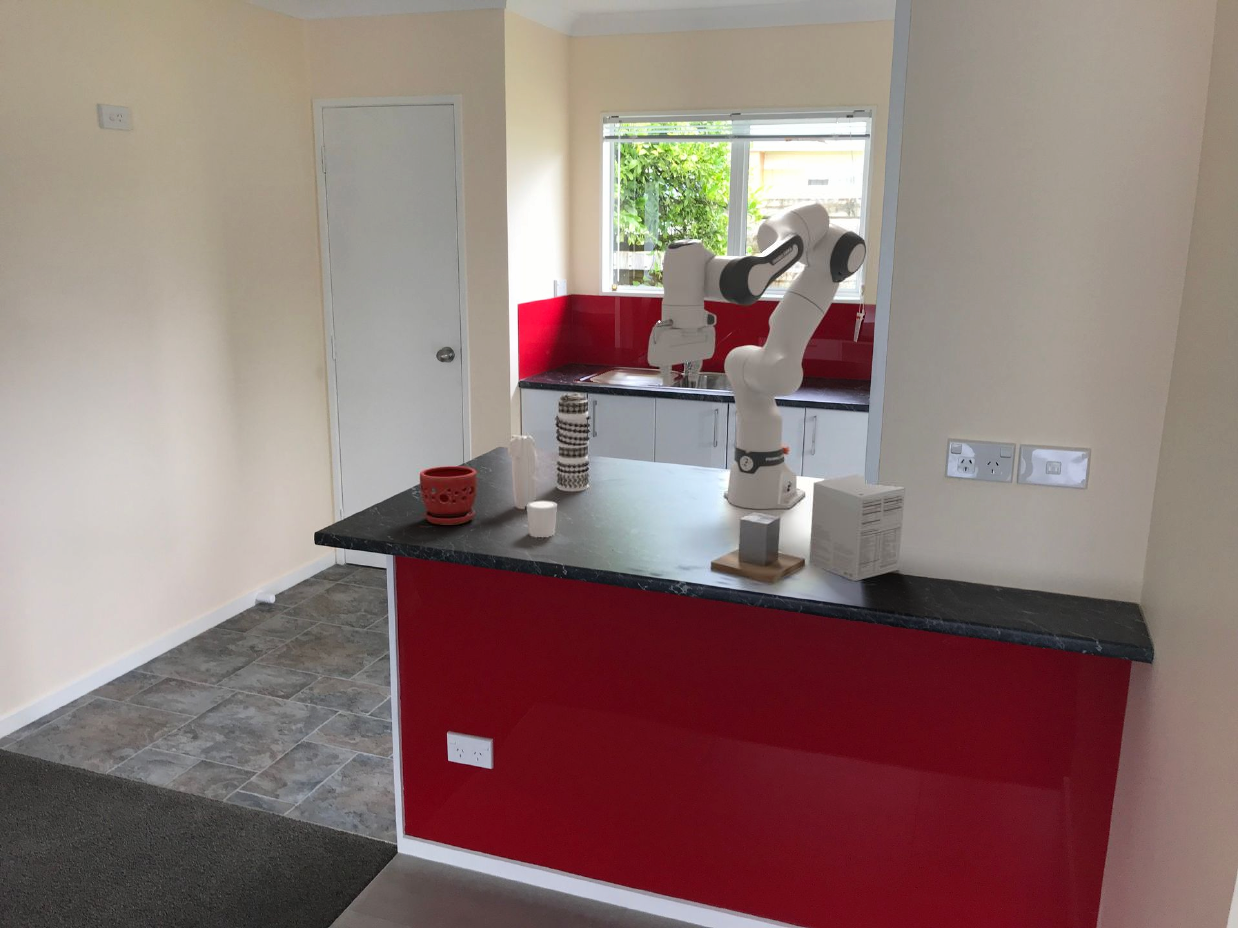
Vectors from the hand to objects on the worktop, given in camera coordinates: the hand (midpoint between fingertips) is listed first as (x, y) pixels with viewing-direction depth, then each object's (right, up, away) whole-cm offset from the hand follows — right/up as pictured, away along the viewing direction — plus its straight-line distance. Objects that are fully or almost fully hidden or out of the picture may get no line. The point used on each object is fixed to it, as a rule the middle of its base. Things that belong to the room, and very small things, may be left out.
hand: (681, 383), depth 208 cm
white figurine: (-37, -28, +32) cm, 57 cm away
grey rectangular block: (+15, -37, -9) cm, 41 cm away
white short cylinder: (-31, -33, +12) cm, 47 cm away
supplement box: (+35, -39, -7) cm, 53 cm away
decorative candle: (-25, -24, +51) cm, 62 cm away
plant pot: (-53, -31, +22) cm, 65 cm away
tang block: (+15, -38, -8) cm, 42 cm away
